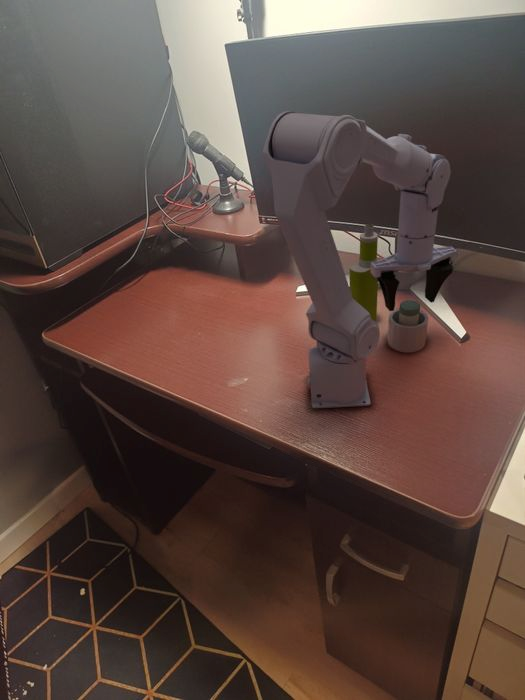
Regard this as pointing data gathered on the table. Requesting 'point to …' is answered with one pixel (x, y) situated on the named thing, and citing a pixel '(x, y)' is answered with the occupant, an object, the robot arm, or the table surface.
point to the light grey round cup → (407, 333)
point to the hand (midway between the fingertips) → (409, 303)
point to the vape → (365, 273)
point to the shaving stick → (409, 313)
